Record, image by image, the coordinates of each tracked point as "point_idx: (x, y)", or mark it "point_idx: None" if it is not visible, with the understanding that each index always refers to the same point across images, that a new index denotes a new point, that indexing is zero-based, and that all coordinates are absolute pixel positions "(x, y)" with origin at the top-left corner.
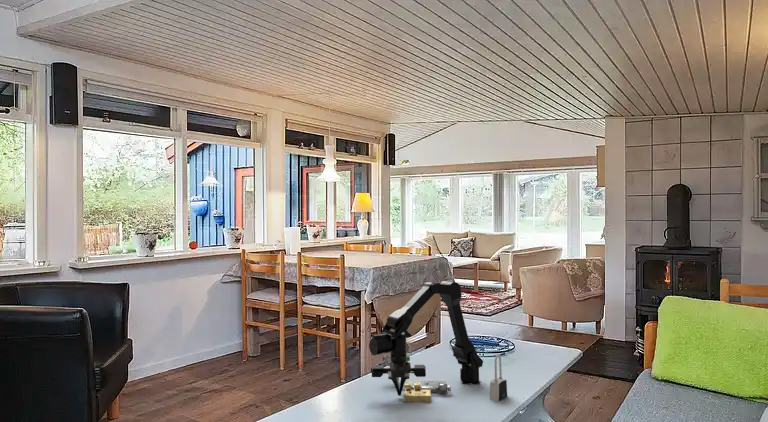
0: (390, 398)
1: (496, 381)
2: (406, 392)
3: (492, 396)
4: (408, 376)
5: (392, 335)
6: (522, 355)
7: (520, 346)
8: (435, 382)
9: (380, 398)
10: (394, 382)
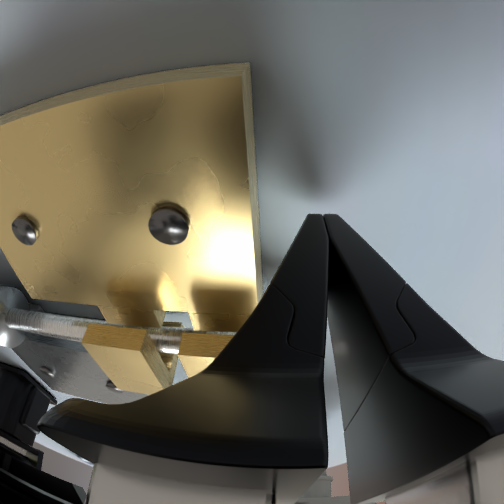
0: (416, 196)
1: None
2: (224, 232)
3: None
4: (98, 467)
5: None
6: (44, 438)
7: (72, 456)
8: (83, 389)
9: (498, 203)
10: (449, 344)
